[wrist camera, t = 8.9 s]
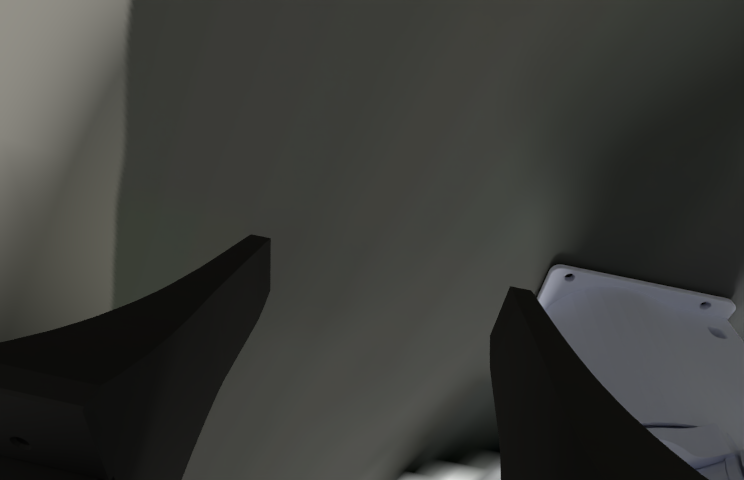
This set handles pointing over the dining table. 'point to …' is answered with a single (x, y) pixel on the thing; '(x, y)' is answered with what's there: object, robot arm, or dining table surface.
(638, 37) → the dining table surface
